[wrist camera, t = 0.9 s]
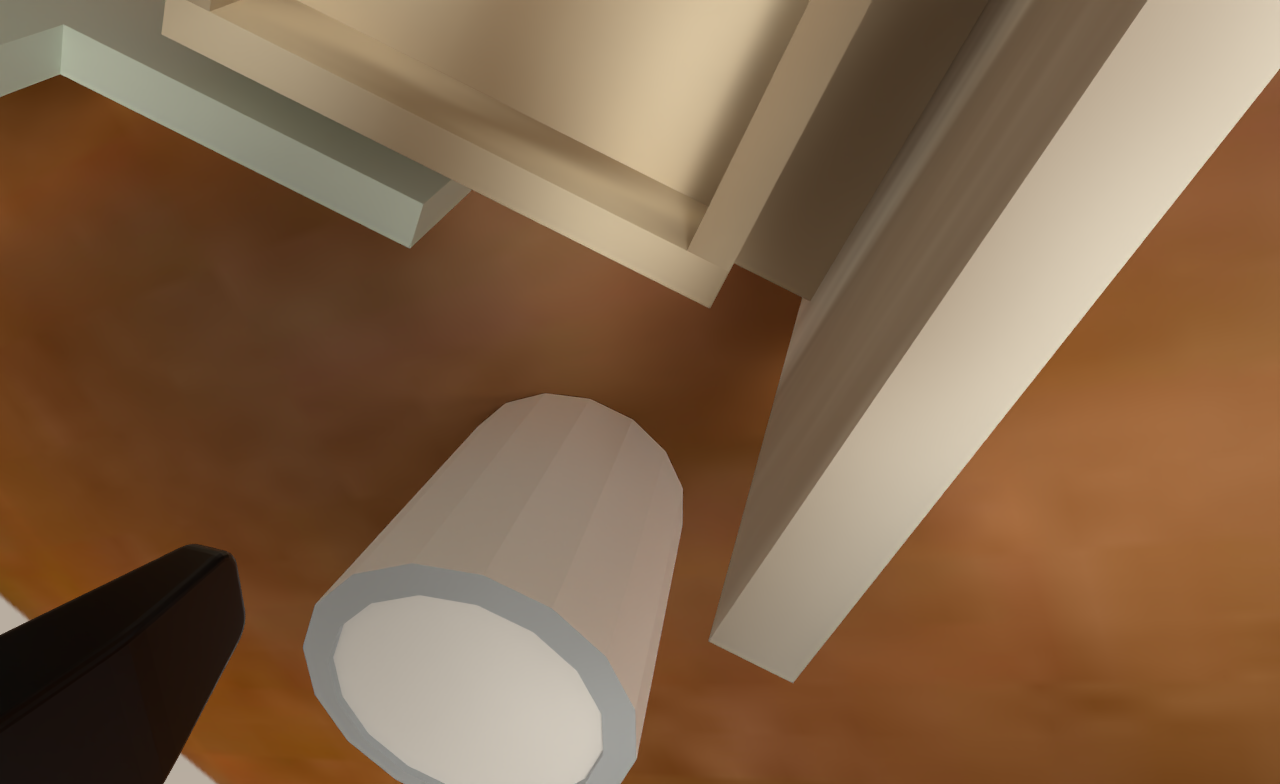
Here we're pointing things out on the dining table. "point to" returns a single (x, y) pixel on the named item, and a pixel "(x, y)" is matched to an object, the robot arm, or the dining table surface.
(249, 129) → the caddy
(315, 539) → the dining table surface
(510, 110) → the drawer
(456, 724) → the grey and white tumbler
